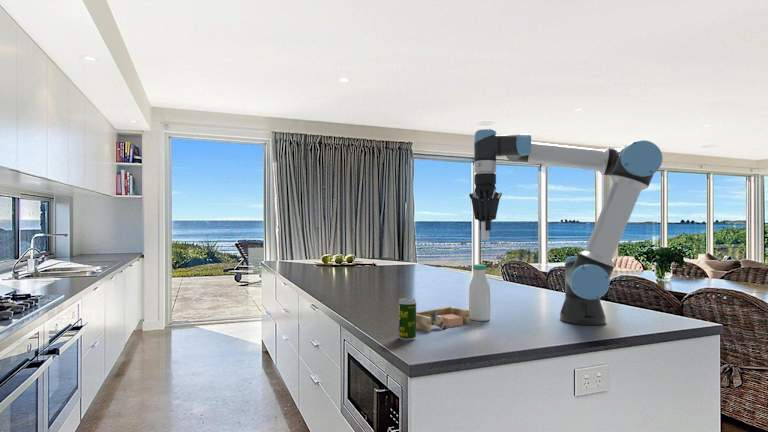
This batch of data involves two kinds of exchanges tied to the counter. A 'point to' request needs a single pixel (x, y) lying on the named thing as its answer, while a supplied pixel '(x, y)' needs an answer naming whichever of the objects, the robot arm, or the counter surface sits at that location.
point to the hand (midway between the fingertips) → (485, 239)
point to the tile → (452, 320)
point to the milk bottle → (479, 295)
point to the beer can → (407, 319)
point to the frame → (426, 320)
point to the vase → (438, 320)
